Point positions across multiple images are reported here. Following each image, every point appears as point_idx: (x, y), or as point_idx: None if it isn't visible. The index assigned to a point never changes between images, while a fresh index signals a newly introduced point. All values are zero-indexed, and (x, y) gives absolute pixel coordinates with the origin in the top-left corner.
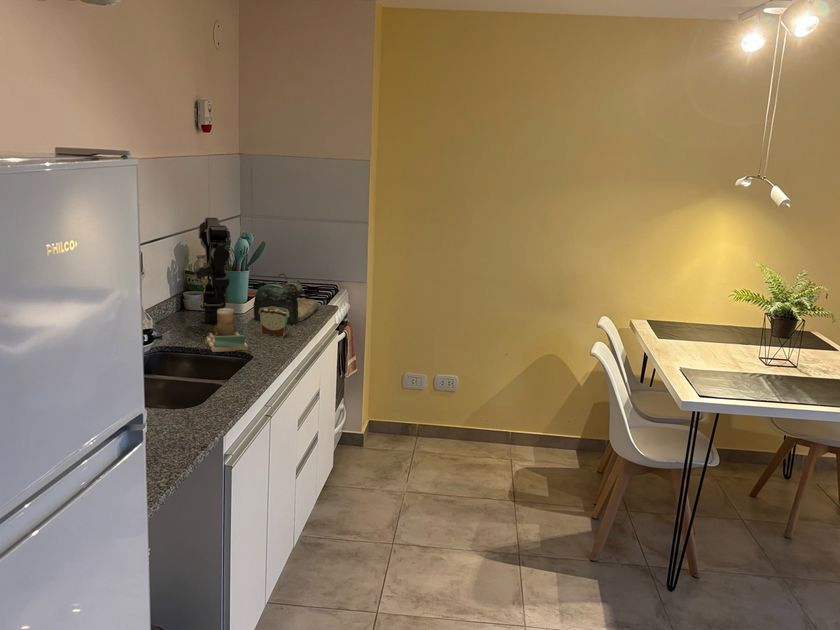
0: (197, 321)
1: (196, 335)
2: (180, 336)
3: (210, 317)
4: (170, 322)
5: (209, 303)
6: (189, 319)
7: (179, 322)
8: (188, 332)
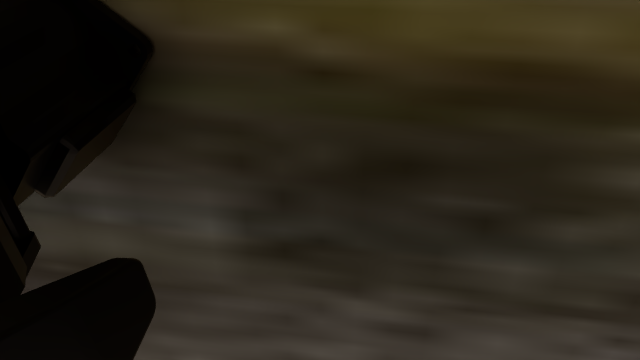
0: None
1: (615, 243)
2: (613, 353)
3: (105, 114)
4: None
5: (5, 227)
6: None
7: None
8: (473, 286)
